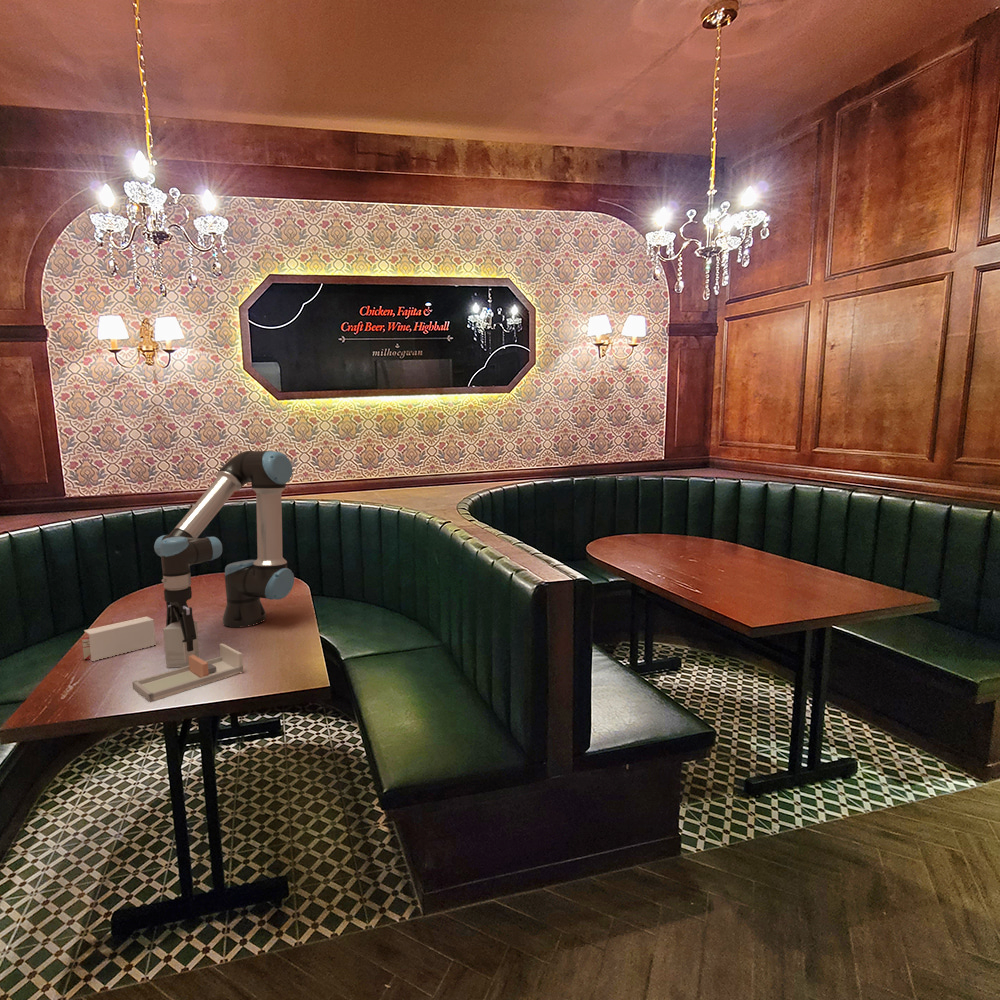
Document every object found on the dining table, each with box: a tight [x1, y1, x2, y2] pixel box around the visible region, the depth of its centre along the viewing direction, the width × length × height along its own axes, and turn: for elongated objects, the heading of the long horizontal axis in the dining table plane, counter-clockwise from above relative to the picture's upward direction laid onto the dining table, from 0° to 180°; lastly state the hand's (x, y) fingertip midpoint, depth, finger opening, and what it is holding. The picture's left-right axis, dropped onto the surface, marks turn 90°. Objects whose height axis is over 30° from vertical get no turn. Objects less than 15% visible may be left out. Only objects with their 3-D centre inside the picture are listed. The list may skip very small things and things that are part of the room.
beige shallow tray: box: [131, 643, 244, 703], centre depth 180 cm, size 26×13×6 cm, turn 138°
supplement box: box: [162, 620, 201, 669], centre depth 193 cm, size 7×7×13 cm
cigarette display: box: [81, 615, 157, 662], centre depth 202 cm, size 20×6×9 cm, turn 139°
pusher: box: [189, 655, 216, 678], centre depth 183 cm, size 5×10×4 cm, turn 48°
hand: (182, 656), depth 193 cm, fingers closed on supplement box, 10 cm apart
